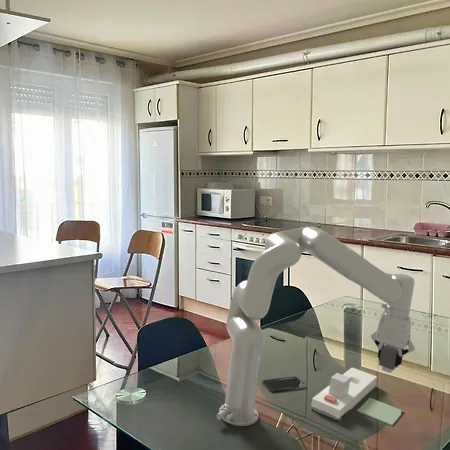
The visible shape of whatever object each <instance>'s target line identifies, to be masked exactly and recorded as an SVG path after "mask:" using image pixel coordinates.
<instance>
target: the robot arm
mask: <svg viewBox="0 0 450 450" xmlns="http://www.w3.org/2000/svg"><path fill="white" fill-rule="evenodd" d="M264 249H265V250H264V251H263V252H262V253H261V254H260V255H258V256H257V258H255V260H254V261H253V262H252V264H251V267H250V270H249V272H248V276H247V279H245V280H242V281H241V282H240V283H239V284H237V286H235V289H234V291H233V294H232V298H231V301H230V306H229V309H228V314H227V319H226V330H227V333H228V335H229V337H230V340H231V341H232V350H231V352H230V356H229V363H228V373H227V382H226V390H225V400H224V404H222V405H221V406H220V407H219V409H218V410H219V411H218V413H217V414H216V419H217V420H220V421H221V420H223V421H224V422H225V423H227V424H229V425H232V426H237V427H238V426H239V427H247V426H251V425H253V424H255V423H256V422H257V421H258V419H259V412H258V410H257V409H256V405H255V404H256V399H257V391H258V388H257V387H258V381H259V375H260V374H259V372H260V363H261V359H262V354H263V351H264V347H265V342H266V341H265V335H264V331H263V330H262V328H261V326H260V325H259V323H258V322H257V321H256V320H261V319H263V318H265V316H266V315H267V314H268V312H269V309H270V306H271V302H272V298H273V293H274V289H275V285H276V282H277V280H278V277H279V275H280V274H281V273H282V272H284V271H285V270H286V269H288V268H291V267H293V266H295V265H296V264H297V263H298V262H299V261H300V259H301V257H302V253H308V254H310V255H311V256H312V257H314V258H315V259H317V260H319V261H320V262H321V263H323V264H324V265H325V266H327V267H329V268H330V269H332V270H334V272H336V273H337V274H339V275H340V276H343V277H344V278H345V279H347V280H349V281H351V282H353V283H355V284H356V285H358V286H360V287H361V288H363V289H365V290H366V291H368V292H369V293H370V294H372V295H373V296H374V297H377V298H378V299H379V300H381V301H383V302H384V303H385V304H384V303H382V304H381V308H382V309H383V310H384V311H383V312H382V313H381V315H380V318H379V321H378V325H377V329H376V331H374V332H373V333H372V334H370V338H371V339H372V341H374V343H375V345H376V347H377V349H378V350H377V351H378V353H377V358H378V362H379V360H380V354H381V348H382V347H384V346H385V345H386V344H387V345H390V346H393V347H396V348H398V355H397V357H396V363H395V367H396V368H398V367H399V366H401V365H402V362H403V357H404V355H407V354H408V353H411V352H413V351H415V350H416V347H415V345H414V343H413V342H412V340H411V332H412V331H411V330H412V323H411V321H412V320H411V319H412V318H411V317H410V311H411V306H412V300H413V295H414V294H413V293H414V287H415V279H414V277H412V276H410V275H408V274H404V273H394V274H391V273H387V272H385V271H382V270H381V269H380V268H379V267H377V266H375V265H374V264H372V263H371V262H369V260H367V259H366V258H364V257H363V256H362V255H360V254H359V253H358V252H356V251H355V250H353V249H352V248H351V247H349V246H347V245H346V244H344V243H343V242H342V241H341V240H339V239H337V238H336V237H334V236H333V235H331V234H330V233H329V232H327V231H325V230H323V229H320V228H319V227H316V226H312V225H311V226H303V227H298V228H293V229H287V230H281V231H277V232H272V233H271V234H269V236H268V237H267V238H266V240H265V242H264ZM407 346H408V348H407Z"/></svg>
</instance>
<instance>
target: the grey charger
mask: <svg viewBox="0 0 450 450" xmlns="http://www.w3.org/2000/svg"><path fill="white" fill-rule="evenodd" d="M329 385H330V388H329V394H331V395H333V396H336V397H338V398H341V399H343V398H344V397H345V396H346V395H347V394H348V391H349V385H350V377H347V376H344V375H343V374H341V373H339V372H336V373H335V374H334V375H332V376H331V377H330V382H329Z"/></svg>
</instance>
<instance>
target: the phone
mask: <svg viewBox="0 0 450 450" xmlns="http://www.w3.org/2000/svg"><path fill="white" fill-rule="evenodd" d="M300 381H301V382H302V383H303V384H305V382H303V381H302V380H301V379H299V377H298V376H286V377H278V378H270V379H269V378H268V379H264V380H262V382H261V384H262V385H263V386H264V387H265V388H266V389H267V391H268V392H270V393H274V394H275V393H280V392H287V391H288V390H289V391H293V390H292V389H296V388H300V387H299V384H300ZM302 387H303V386H302ZM296 390H297V389H296Z"/></svg>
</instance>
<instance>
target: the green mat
mask: <svg viewBox="0 0 450 450" xmlns="http://www.w3.org/2000/svg"><path fill="white" fill-rule="evenodd" d="M401 410H402V409H400V408H397V407H395V406H391V405H389V404H387V403H385V402H382V401H380V400H377V399H374V398H372V397H369V398H368V399H367V400H366V401H365V402H364V403H363V404H362V405H361V406H360V407H359V408H358V409H357V410H356V412H357V411H358V413H360V414H362V415H365V416H367V417H370V418H371V419H374V420H377V421H379V422H381V423H384V424H387V425H389V426H393V425H394V424H395V423H396V422H397V420H399V418H400V417H401V416H402V414H401Z"/></svg>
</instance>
